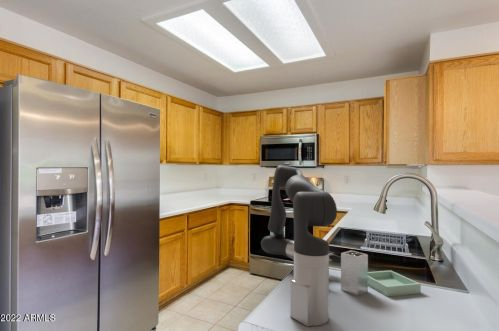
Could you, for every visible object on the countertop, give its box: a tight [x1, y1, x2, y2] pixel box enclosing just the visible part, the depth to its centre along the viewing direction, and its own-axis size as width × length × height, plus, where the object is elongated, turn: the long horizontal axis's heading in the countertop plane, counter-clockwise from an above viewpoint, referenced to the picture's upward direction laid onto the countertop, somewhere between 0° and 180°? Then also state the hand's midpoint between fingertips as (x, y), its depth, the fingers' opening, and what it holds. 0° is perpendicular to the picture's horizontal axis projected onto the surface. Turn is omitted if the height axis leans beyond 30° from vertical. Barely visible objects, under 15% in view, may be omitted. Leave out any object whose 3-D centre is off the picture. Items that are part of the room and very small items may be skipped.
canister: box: [340, 249, 369, 297], centre depth 90 cm, size 6×6×12 cm
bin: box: [368, 269, 422, 297], centre depth 94 cm, size 13×13×3 cm
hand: (333, 262), depth 97 cm, fingers open, 8 cm apart
